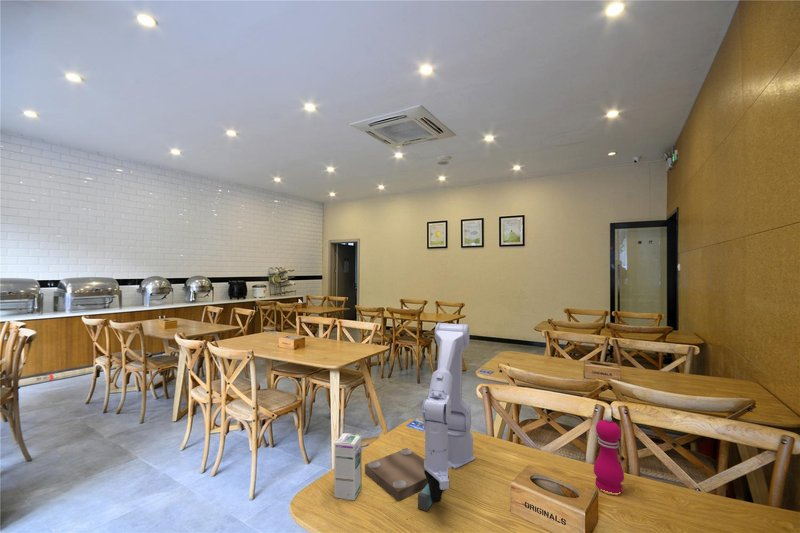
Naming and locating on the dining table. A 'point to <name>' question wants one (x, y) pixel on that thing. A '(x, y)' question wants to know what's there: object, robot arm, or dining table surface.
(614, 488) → the pepper mill
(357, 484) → the syrup box
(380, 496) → the dining table surface
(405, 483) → the stool seat
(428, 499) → the stool leg
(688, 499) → the dining table surface
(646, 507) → the dining table surface
